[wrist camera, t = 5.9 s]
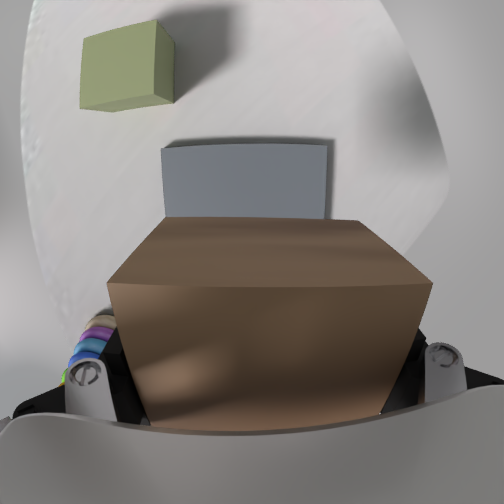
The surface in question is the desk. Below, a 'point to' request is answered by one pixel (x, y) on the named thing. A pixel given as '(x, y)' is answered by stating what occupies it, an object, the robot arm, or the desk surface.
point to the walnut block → (265, 321)
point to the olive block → (127, 68)
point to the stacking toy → (93, 339)
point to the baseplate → (245, 180)
